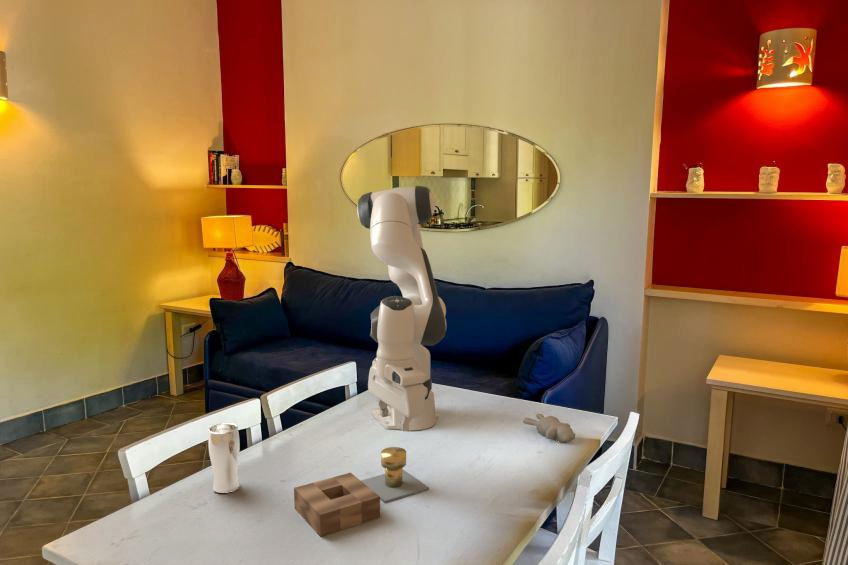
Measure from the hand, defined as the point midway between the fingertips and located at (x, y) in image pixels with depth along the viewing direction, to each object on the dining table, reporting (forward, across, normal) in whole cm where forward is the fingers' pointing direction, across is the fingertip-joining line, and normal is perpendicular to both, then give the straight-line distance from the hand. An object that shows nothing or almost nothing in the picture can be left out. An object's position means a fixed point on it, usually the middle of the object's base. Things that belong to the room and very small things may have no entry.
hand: (393, 422), depth 148 cm
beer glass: (+17, -20, -34) cm, 43 cm away
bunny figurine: (+15, -1, +54) cm, 56 cm away
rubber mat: (+16, +1, 0) cm, 16 cm away
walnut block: (+16, +5, -17) cm, 24 cm away
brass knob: (+15, +1, 0) cm, 15 cm away
